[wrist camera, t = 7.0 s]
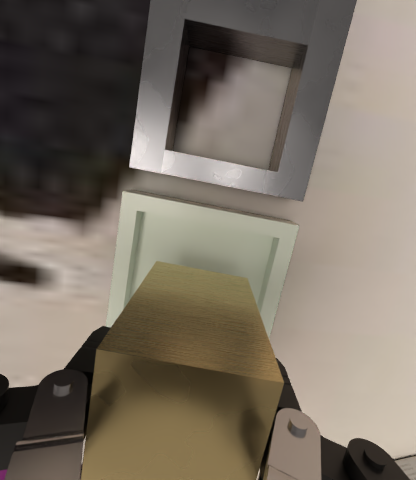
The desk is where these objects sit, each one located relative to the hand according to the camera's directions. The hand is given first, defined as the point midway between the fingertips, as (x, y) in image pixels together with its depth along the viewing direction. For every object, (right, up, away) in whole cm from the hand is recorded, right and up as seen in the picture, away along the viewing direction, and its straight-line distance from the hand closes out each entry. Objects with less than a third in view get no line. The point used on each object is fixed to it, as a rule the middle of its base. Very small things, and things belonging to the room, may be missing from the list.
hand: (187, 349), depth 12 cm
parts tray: (0, +2, +8) cm, 8 cm away
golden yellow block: (0, +1, +4) cm, 4 cm away
